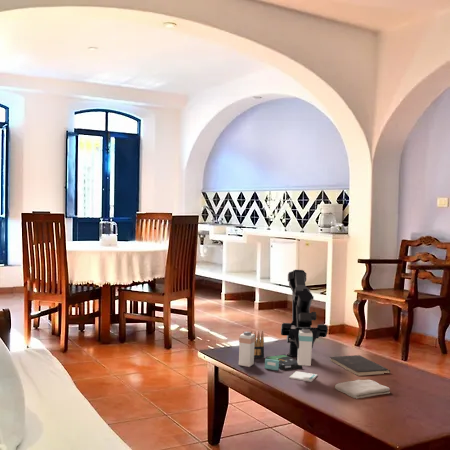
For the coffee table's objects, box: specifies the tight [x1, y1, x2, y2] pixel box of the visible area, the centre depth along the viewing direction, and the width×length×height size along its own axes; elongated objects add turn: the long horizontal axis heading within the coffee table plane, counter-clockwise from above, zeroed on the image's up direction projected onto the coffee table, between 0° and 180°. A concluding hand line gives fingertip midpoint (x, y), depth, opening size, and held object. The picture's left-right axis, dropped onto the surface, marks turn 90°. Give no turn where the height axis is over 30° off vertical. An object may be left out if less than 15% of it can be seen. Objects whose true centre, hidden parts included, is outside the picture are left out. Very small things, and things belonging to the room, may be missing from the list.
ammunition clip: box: [242, 330, 265, 359], centre depth 255 cm, size 11×2×12 cm, turn 105°
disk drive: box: [265, 354, 303, 371], centre depth 245 cm, size 10×3×15 cm
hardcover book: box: [329, 354, 391, 377], centre depth 246 cm, size 16×23×2 cm
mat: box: [289, 370, 318, 383], centre depth 228 cm, size 9×9×1 cm
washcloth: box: [334, 378, 391, 399], centre depth 213 cm, size 12×18×3 cm, turn 119°
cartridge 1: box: [238, 331, 255, 368], centre depth 243 cm, size 5×5×14 cm
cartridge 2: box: [296, 328, 313, 367], centre depth 228 cm, size 5×5×14 cm
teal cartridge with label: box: [264, 358, 280, 371], centre depth 237 cm, size 1×6×4 cm, turn 65°
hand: (305, 348), depth 226 cm, fingers closed on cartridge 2, 5 cm apart
